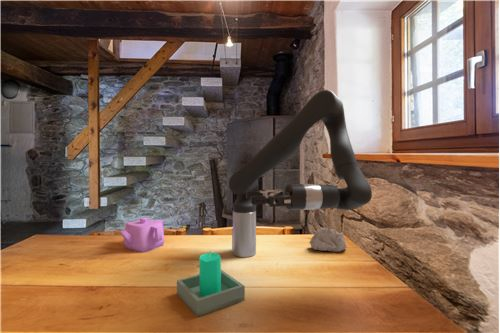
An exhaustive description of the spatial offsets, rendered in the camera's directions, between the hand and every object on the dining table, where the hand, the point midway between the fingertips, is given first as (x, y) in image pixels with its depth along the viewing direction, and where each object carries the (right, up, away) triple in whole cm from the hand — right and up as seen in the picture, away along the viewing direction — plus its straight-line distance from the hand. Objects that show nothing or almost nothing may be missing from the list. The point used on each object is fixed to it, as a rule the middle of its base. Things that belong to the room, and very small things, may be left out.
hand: (248, 197), depth 80 cm
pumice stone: (+33, -26, +38) cm, 56 cm away
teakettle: (-46, -26, +43) cm, 68 cm away
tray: (-11, -28, 0) cm, 30 cm away
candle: (-11, -27, 0) cm, 29 cm away
